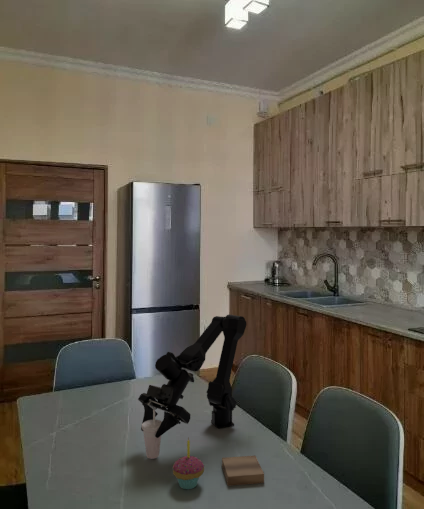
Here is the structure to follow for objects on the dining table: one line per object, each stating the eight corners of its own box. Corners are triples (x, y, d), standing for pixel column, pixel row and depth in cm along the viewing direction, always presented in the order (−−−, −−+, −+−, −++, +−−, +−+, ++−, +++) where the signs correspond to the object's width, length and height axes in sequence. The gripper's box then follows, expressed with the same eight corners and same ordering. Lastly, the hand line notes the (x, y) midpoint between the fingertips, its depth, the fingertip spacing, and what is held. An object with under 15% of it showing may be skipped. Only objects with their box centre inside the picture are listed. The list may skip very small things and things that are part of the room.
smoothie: (159, 462, 124) (159, 415, 123) (138, 459, 125) (138, 413, 125) (166, 451, 130) (165, 406, 130) (146, 449, 132) (146, 404, 131)
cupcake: (172, 476, 119) (172, 434, 118) (203, 475, 119) (203, 433, 119) (172, 494, 110) (172, 449, 110) (205, 493, 111) (205, 448, 110)
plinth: (221, 466, 124) (221, 457, 124) (255, 463, 125) (255, 455, 125) (227, 485, 114) (227, 476, 114) (264, 483, 115) (264, 474, 115)
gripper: (142, 367, 136) (113, 412, 128) (183, 380, 124) (155, 431, 116) (160, 385, 142) (135, 429, 134) (201, 399, 130) (176, 448, 122)
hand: (149, 433), depth 126 cm, fingers closed on smoothie, 6 cm apart
